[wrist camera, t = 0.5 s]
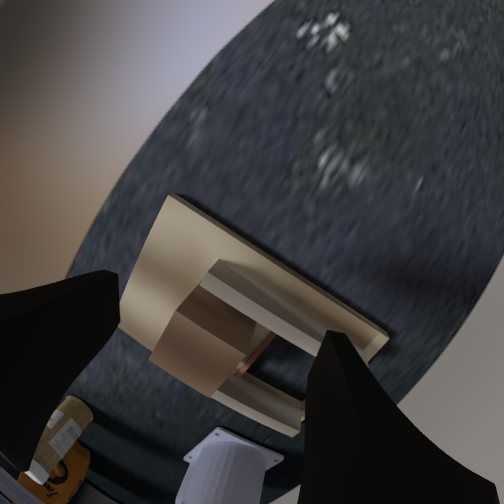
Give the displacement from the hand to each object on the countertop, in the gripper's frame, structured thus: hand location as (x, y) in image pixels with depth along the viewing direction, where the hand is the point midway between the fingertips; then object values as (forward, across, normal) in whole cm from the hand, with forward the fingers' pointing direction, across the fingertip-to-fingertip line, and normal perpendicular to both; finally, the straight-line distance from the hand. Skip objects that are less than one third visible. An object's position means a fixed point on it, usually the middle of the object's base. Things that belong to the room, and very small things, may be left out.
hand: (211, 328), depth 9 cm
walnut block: (+9, +2, +6) cm, 11 cm away
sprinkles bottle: (+9, +18, +27) cm, 34 cm away
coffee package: (+8, +24, +44) cm, 51 cm away
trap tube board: (+10, 0, +7) cm, 12 cm away
